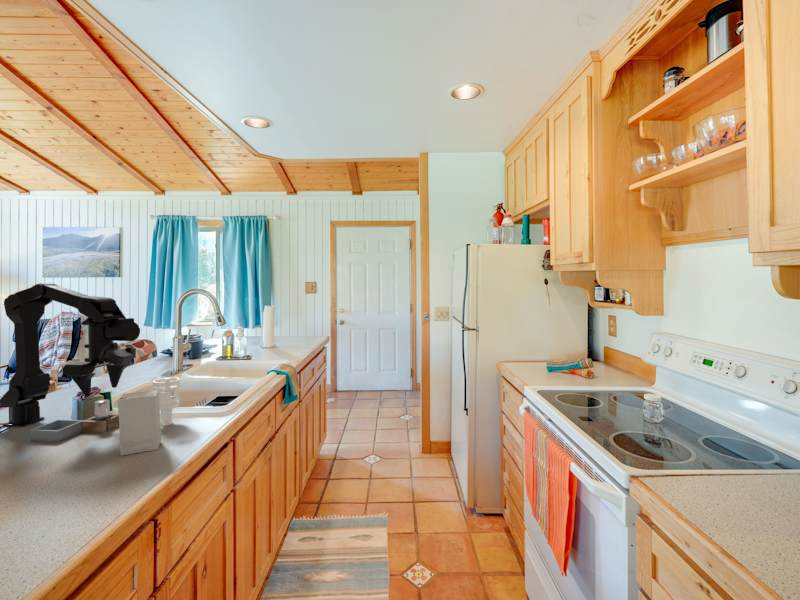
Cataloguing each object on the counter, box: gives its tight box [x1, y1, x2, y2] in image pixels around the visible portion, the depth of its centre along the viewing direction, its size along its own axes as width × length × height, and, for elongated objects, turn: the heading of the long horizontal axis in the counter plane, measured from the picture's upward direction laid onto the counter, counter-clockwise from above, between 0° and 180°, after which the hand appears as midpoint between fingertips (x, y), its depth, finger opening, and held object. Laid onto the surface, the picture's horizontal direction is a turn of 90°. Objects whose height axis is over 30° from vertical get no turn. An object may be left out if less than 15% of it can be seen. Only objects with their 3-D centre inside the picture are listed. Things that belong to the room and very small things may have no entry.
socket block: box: [81, 413, 119, 433], centre depth 108 cm, size 7×7×3 cm
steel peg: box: [94, 399, 111, 421], centre depth 108 cm, size 4×4×8 cm
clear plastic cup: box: [152, 376, 181, 427], centre depth 112 cm, size 7×7×15 cm
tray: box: [29, 419, 84, 443], centre depth 102 cm, size 8×8×3 cm
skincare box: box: [117, 389, 162, 456], centre depth 95 cm, size 8×6×15 cm
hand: (101, 391), depth 108 cm, fingers open, 9 cm apart
